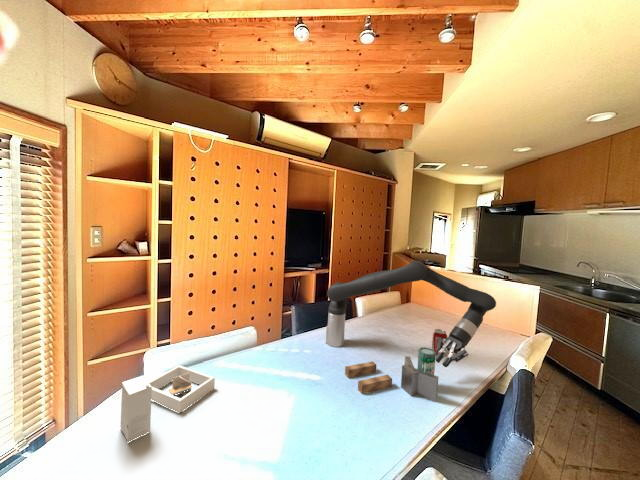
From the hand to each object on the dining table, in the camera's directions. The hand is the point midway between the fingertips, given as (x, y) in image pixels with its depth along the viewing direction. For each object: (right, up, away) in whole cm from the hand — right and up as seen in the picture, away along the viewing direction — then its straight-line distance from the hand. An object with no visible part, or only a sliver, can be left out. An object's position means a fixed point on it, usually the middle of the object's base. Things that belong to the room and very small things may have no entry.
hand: (440, 363), depth 109 cm
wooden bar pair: (-30, -7, 0) cm, 31 cm away
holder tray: (-103, -5, -12) cm, 103 cm away
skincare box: (-106, -6, -30) cm, 110 cm away
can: (-8, -9, -2) cm, 12 cm away
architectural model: (-101, -6, -13) cm, 102 cm away
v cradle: (-13, -8, -5) cm, 16 cm away
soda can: (+11, -8, +27) cm, 30 cm away
